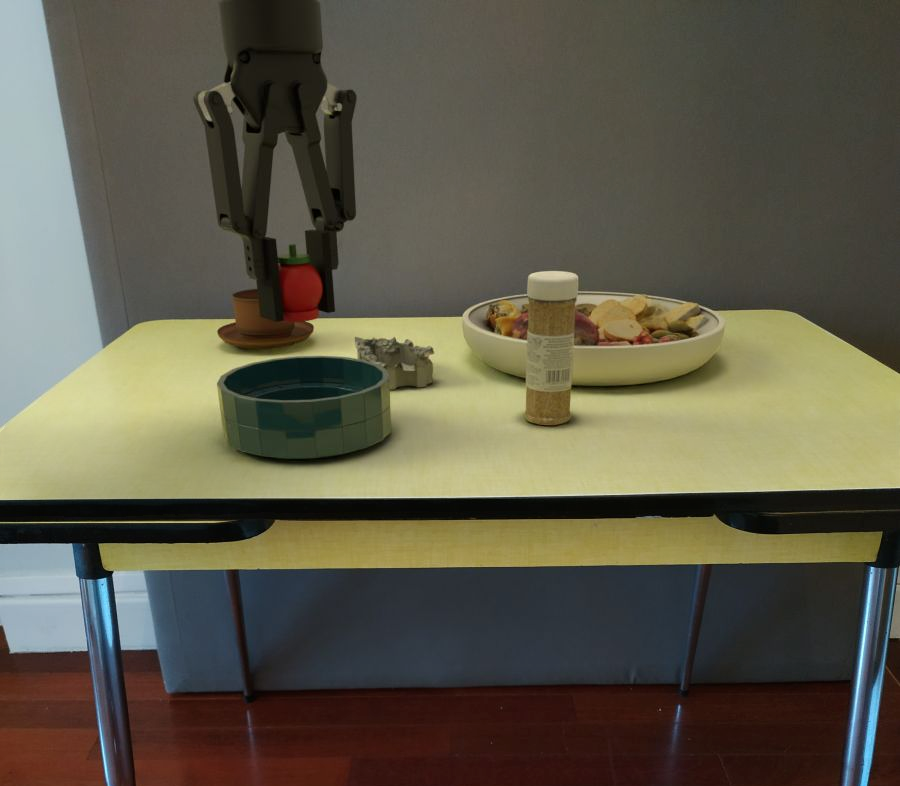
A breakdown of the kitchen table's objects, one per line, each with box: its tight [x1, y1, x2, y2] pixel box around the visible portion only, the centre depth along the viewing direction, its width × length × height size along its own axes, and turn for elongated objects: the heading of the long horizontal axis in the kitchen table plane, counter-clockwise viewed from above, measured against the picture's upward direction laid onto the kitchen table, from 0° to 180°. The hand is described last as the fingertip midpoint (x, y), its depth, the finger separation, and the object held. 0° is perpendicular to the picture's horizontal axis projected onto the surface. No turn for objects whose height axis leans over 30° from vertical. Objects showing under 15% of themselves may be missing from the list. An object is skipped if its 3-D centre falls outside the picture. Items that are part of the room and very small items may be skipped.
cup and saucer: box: [216, 288, 315, 350], centre depth 114 cm, size 12×12×6 cm
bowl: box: [461, 291, 726, 387], centre depth 106 cm, size 30×30×8 cm
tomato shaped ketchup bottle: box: [278, 243, 323, 322], centre depth 78 cm, size 5×5×6 cm
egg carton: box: [354, 336, 435, 391], centre depth 101 cm, size 11×8×4 cm
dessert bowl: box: [216, 355, 392, 460], centre depth 83 cm, size 15×15×6 cm
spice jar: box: [523, 270, 579, 426], centre depth 85 cm, size 5×5×13 cm
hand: (297, 313), depth 79 cm, fingers closed on tomato shaped ketchup bottle, 4 cm apart
